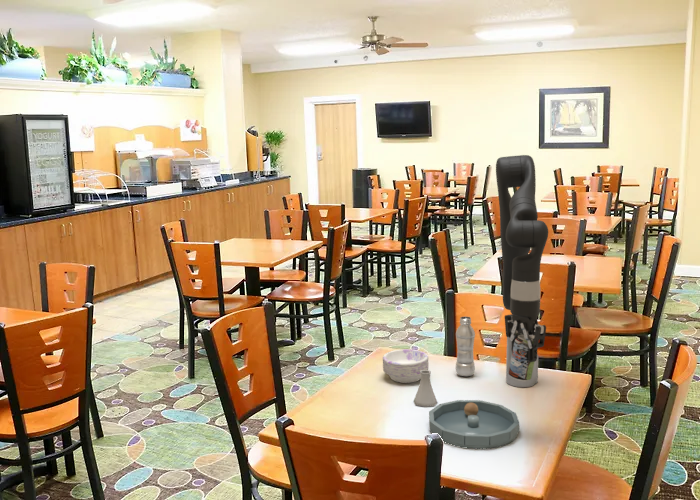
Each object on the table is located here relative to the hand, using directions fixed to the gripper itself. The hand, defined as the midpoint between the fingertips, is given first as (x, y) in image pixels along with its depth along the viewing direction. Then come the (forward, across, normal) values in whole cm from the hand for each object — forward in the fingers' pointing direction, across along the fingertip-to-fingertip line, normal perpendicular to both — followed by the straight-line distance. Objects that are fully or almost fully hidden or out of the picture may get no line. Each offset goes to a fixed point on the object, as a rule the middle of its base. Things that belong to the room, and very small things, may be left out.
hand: (523, 357), depth 179 cm
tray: (+22, +9, +10) cm, 25 cm away
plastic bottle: (+22, +44, -13) cm, 51 cm away
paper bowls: (+22, +52, +6) cm, 56 cm away
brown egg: (+21, +14, +7) cm, 26 cm away
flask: (+22, +31, +12) cm, 39 cm away
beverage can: (+6, 0, 0) cm, 6 cm away
